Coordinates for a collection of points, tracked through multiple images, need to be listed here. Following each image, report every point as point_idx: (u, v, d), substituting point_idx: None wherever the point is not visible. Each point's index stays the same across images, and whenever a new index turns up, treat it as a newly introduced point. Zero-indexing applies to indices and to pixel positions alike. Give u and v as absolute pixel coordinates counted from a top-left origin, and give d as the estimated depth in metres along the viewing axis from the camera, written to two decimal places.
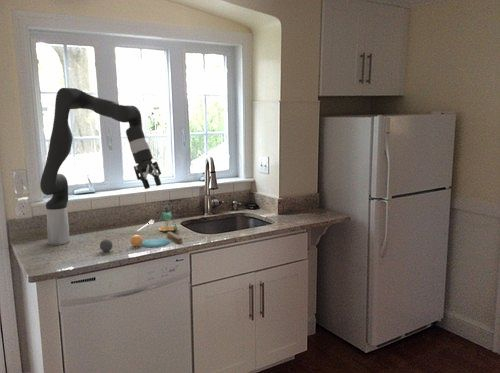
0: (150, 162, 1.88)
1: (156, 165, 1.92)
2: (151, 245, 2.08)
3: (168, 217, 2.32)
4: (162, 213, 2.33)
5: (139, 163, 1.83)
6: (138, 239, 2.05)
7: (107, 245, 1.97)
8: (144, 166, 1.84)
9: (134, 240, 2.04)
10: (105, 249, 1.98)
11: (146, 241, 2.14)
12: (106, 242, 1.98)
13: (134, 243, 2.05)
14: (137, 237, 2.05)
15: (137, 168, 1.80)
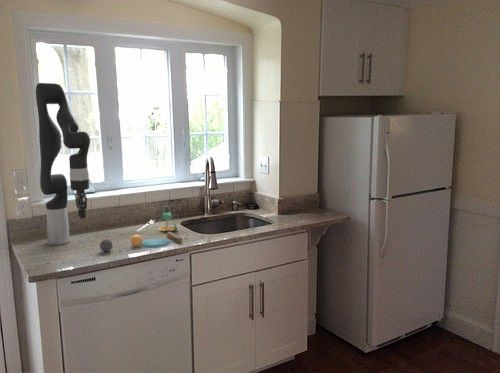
0: None
1: None
2: (151, 245, 2.08)
3: (168, 217, 2.33)
4: (162, 213, 2.33)
5: (81, 191, 1.87)
6: (138, 239, 2.05)
7: (107, 245, 1.97)
8: (84, 195, 1.89)
9: (134, 240, 2.04)
10: (105, 249, 1.98)
11: (146, 241, 2.14)
12: (106, 242, 1.98)
13: (134, 243, 2.05)
14: (137, 237, 2.05)
15: (84, 201, 1.86)
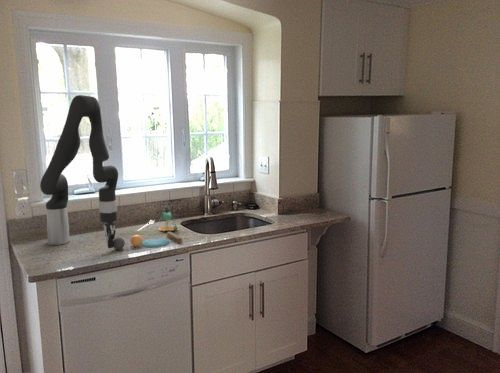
0: None
1: None
2: (151, 245, 2.08)
3: (168, 217, 2.33)
4: (162, 213, 2.34)
5: (110, 223, 1.95)
6: (138, 239, 2.05)
7: (121, 244, 2.01)
8: None
9: (134, 240, 2.04)
10: (117, 242, 2.00)
11: (146, 241, 2.14)
12: (124, 243, 2.02)
13: (134, 243, 2.05)
14: (137, 237, 2.05)
15: (113, 233, 1.94)
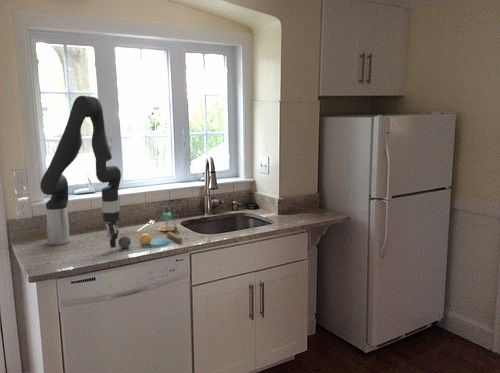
0: None
1: None
2: (151, 245, 2.08)
3: (168, 217, 2.33)
4: (162, 213, 2.34)
5: (113, 223, 1.96)
6: (149, 240, 2.08)
7: (127, 243, 2.03)
8: None
9: (148, 236, 2.08)
10: (127, 239, 2.03)
11: None
12: (128, 245, 2.04)
13: (145, 236, 2.07)
14: (150, 239, 2.09)
15: (116, 233, 1.96)
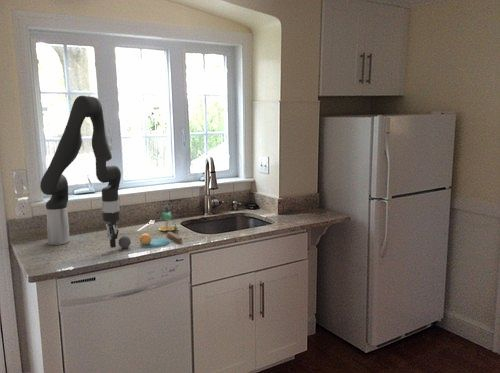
0: None
1: None
2: (151, 245, 2.08)
3: (168, 217, 2.33)
4: (162, 213, 2.34)
5: (113, 223, 1.96)
6: (149, 240, 2.08)
7: (127, 243, 2.03)
8: None
9: (148, 236, 2.08)
10: (127, 239, 2.03)
11: None
12: (128, 245, 2.04)
13: (145, 236, 2.07)
14: (150, 239, 2.09)
15: (116, 233, 1.96)
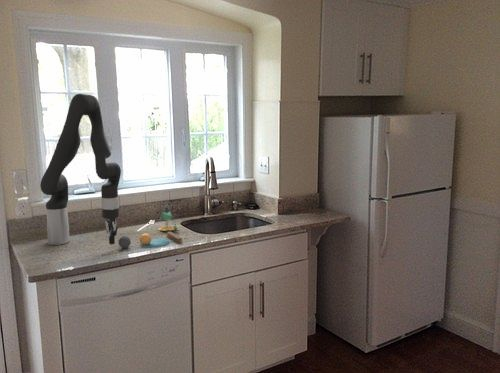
0: None
1: None
2: (151, 245, 2.08)
3: (168, 217, 2.33)
4: (162, 213, 2.34)
5: (112, 220, 1.96)
6: (149, 240, 2.08)
7: (127, 243, 2.03)
8: None
9: (148, 236, 2.08)
10: (127, 239, 2.03)
11: None
12: (128, 245, 2.04)
13: (145, 236, 2.07)
14: (150, 239, 2.09)
15: (115, 230, 1.96)
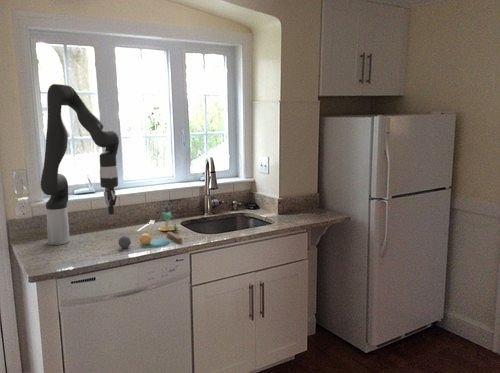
0: None
1: None
2: (151, 245, 2.08)
3: (168, 217, 2.33)
4: (162, 213, 2.34)
5: (111, 188, 1.94)
6: (149, 240, 2.08)
7: (127, 243, 2.03)
8: None
9: (148, 236, 2.08)
10: (127, 239, 2.03)
11: None
12: (128, 245, 2.04)
13: (145, 236, 2.07)
14: (150, 239, 2.09)
15: (114, 199, 1.93)
